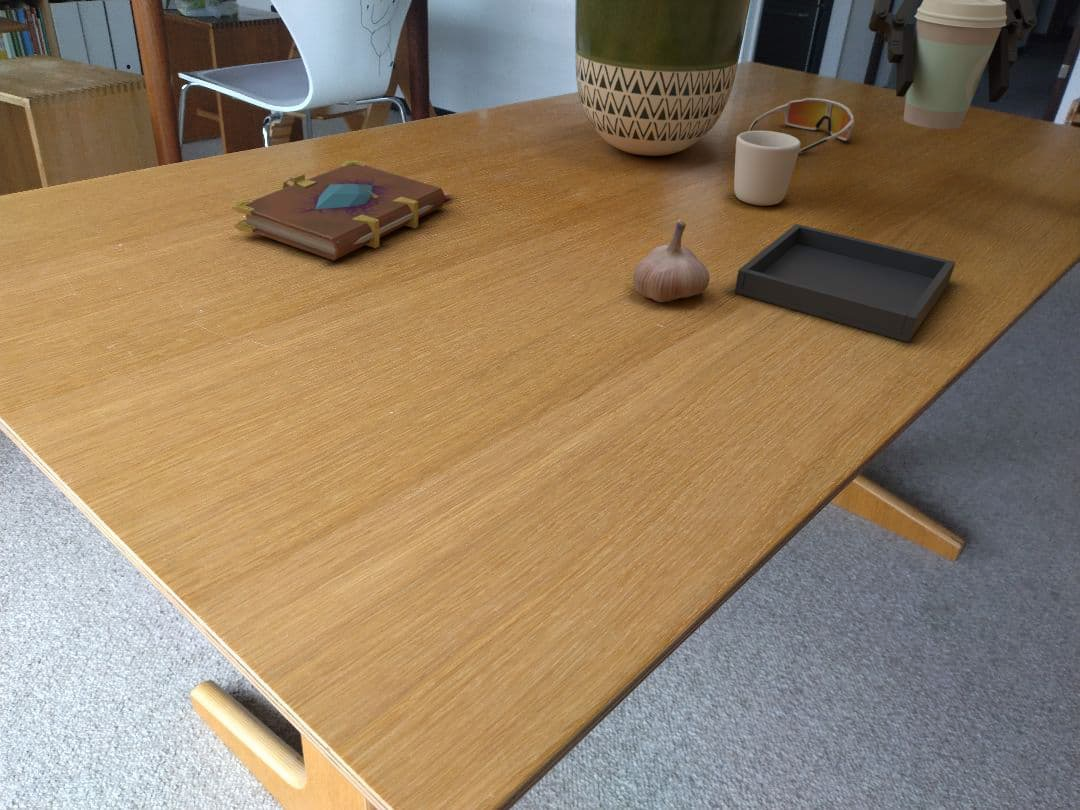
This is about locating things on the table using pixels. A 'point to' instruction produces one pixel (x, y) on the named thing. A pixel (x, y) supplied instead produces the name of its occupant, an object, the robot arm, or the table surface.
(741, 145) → the cup
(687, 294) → the garlic bulb
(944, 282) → the slate tray
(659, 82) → the planter
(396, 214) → the book
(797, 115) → the sunglasses
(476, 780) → the table surface
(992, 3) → the coffee cup
